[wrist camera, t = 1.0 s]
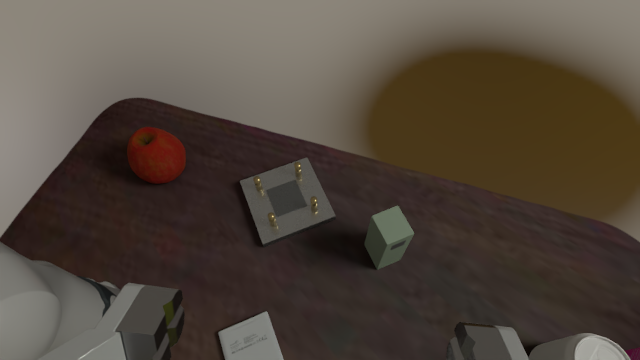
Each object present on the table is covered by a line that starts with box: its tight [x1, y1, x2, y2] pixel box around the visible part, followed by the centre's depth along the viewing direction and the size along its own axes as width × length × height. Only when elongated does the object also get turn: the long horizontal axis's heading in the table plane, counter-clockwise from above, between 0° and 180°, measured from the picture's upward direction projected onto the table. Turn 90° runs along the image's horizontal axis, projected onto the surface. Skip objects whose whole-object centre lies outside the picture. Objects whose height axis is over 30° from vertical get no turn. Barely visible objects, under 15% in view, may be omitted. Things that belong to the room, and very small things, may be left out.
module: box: [364, 206, 414, 270], centre depth 61 cm, size 4×5×12 cm
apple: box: [127, 127, 186, 184], centre depth 71 cm, size 10×10×10 cm
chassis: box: [240, 158, 336, 247], centre depth 69 cm, size 14×14×5 cm
